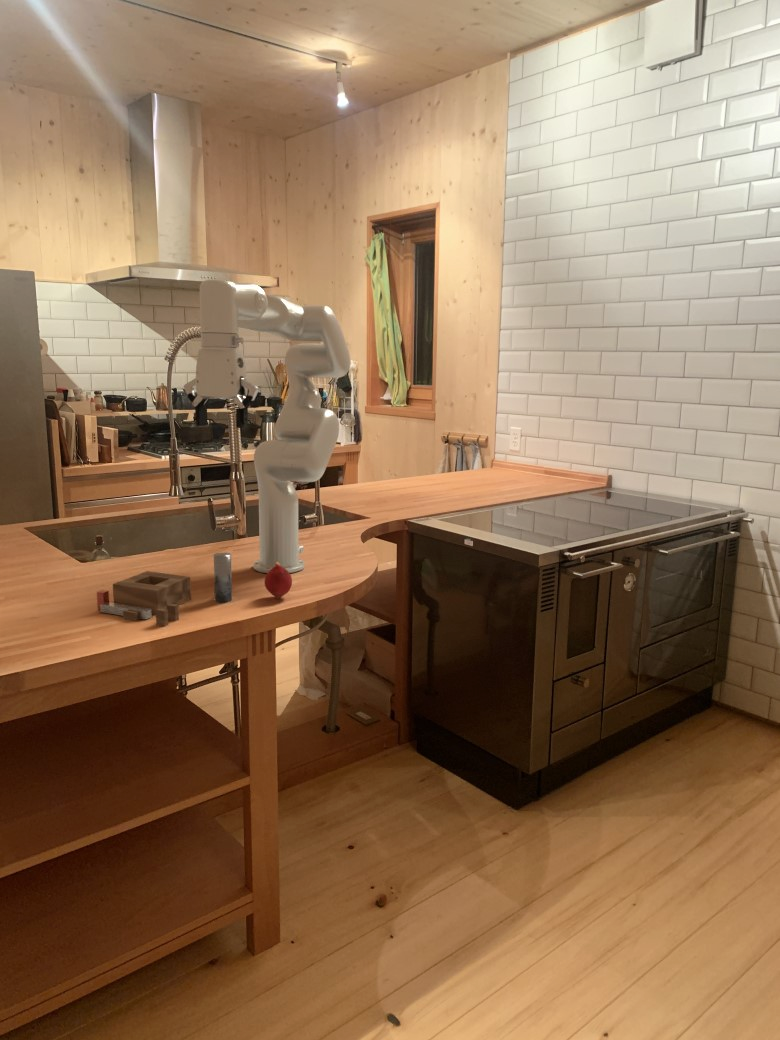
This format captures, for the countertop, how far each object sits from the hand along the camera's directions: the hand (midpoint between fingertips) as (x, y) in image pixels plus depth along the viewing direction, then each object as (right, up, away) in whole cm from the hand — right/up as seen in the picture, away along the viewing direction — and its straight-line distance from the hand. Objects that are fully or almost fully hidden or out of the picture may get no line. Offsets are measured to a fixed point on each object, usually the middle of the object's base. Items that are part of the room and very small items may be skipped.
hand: (221, 426), depth 162 cm
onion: (+11, -37, +5) cm, 39 cm away
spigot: (0, -37, +3) cm, 37 cm away
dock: (-13, -38, -3) cm, 40 cm away
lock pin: (-18, -38, -8) cm, 43 cm away
